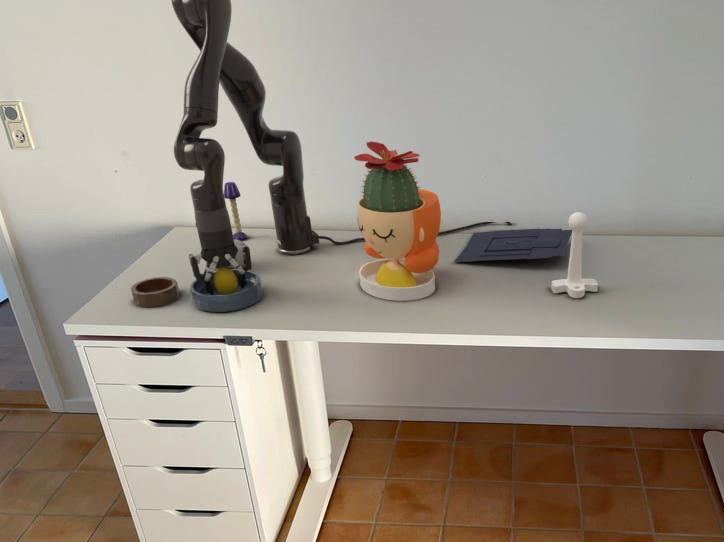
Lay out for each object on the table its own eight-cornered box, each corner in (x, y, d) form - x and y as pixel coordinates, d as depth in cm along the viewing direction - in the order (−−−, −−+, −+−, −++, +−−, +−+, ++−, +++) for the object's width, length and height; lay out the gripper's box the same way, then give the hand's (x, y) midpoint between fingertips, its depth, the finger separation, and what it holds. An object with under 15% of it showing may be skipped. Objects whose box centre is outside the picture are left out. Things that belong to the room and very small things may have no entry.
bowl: (252, 280, 185) (249, 264, 183) (271, 303, 173) (268, 286, 171) (187, 294, 178) (184, 278, 175) (202, 319, 166) (198, 301, 163)
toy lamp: (229, 238, 213) (218, 183, 205) (243, 234, 216) (233, 179, 207) (236, 242, 210) (226, 186, 202) (251, 238, 213) (241, 183, 204)
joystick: (593, 285, 180) (599, 208, 170) (600, 298, 173) (606, 219, 163) (550, 287, 179) (553, 210, 169) (555, 300, 173) (558, 220, 163)
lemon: (233, 303, 172) (227, 272, 168) (212, 301, 173) (206, 270, 169) (244, 293, 177) (238, 263, 173) (224, 292, 178) (217, 262, 174)
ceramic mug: (253, 263, 195) (248, 236, 192) (240, 274, 188) (234, 247, 185) (217, 261, 197) (211, 235, 193) (203, 273, 190) (196, 245, 186)
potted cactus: (401, 307, 170) (391, 160, 152) (343, 283, 183) (327, 144, 166) (463, 280, 183) (460, 142, 166) (405, 259, 197) (397, 129, 179)
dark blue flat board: (564, 267, 187) (563, 254, 185) (454, 271, 195) (452, 259, 193) (574, 236, 207) (573, 224, 206) (475, 241, 215) (473, 229, 213)
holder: (175, 286, 182) (172, 273, 180) (183, 301, 174) (180, 288, 173) (131, 295, 178) (128, 282, 176) (138, 311, 170) (134, 297, 168)
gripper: (185, 236, 160) (200, 302, 168) (249, 224, 166) (260, 289, 175) (178, 226, 165) (193, 291, 174) (240, 215, 172) (252, 279, 180)
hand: (227, 290), depth 174 cm, fingers open, 7 cm apart
